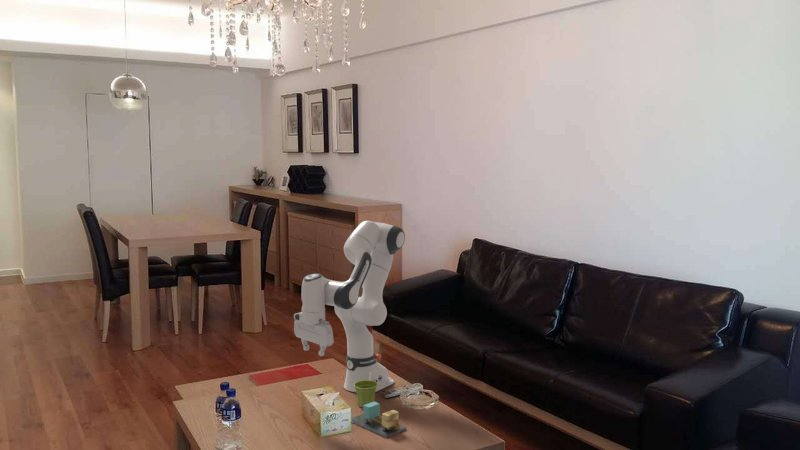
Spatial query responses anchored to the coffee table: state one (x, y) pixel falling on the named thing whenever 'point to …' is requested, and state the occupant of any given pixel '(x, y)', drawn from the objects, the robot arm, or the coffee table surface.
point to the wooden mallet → (388, 420)
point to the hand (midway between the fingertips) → (313, 352)
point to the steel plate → (376, 426)
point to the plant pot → (365, 391)
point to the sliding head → (371, 410)
